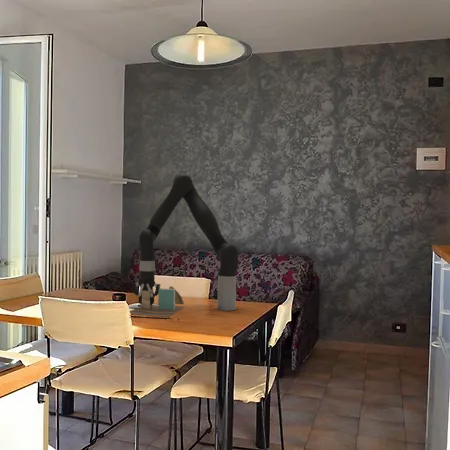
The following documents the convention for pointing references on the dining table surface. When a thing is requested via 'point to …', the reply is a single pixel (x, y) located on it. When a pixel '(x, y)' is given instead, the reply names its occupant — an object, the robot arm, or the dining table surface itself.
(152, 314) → the board
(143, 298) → the block
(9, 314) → the dining table surface
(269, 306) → the dining table surface
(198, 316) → the dining table surface
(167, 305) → the tile
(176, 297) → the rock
